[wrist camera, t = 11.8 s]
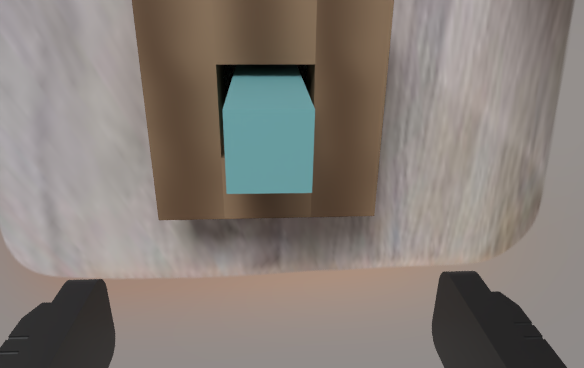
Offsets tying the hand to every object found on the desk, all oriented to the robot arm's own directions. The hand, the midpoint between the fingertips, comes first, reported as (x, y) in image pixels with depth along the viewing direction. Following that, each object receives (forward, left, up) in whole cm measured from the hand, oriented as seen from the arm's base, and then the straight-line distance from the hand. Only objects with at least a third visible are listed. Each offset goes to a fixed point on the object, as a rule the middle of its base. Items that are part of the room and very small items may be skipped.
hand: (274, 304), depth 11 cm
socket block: (0, 0, -23) cm, 23 cm away
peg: (0, 0, -23) cm, 23 cm away
